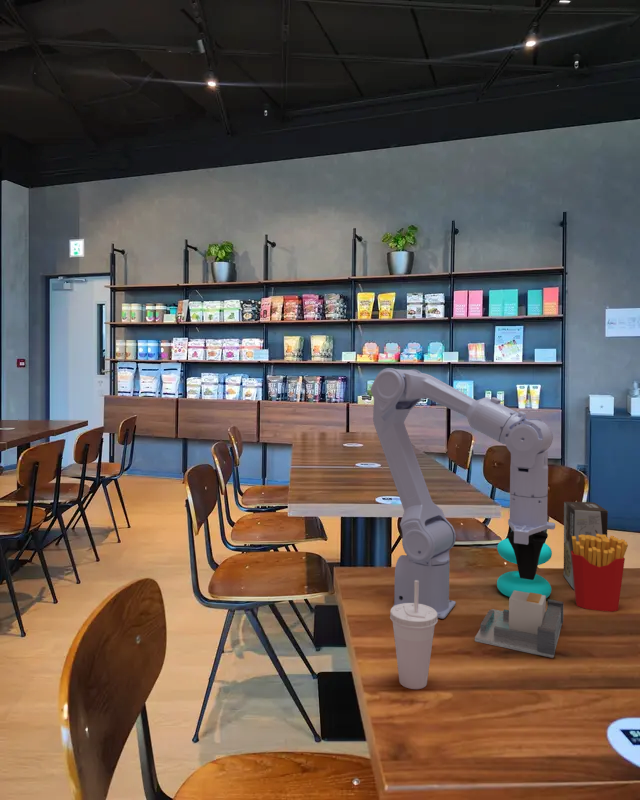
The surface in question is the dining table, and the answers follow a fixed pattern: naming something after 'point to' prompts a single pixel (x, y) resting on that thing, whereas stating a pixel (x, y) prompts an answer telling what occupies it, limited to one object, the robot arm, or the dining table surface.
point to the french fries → (598, 571)
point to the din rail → (541, 643)
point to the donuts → (512, 578)
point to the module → (526, 611)
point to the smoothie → (413, 640)
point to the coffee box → (581, 528)
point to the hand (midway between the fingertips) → (527, 577)
